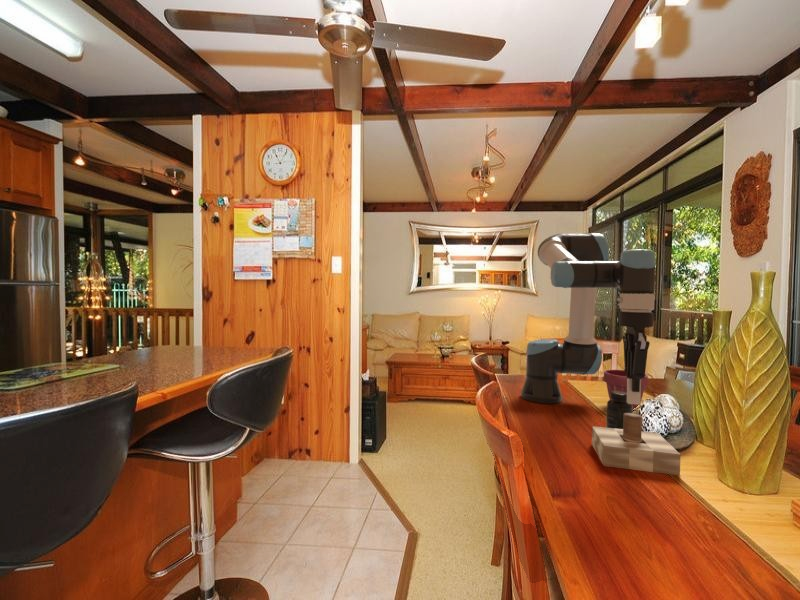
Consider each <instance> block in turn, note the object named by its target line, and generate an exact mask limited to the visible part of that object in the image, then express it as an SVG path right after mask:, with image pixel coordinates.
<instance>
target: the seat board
mask: <svg viewBox="0 0 800 600" xmlns="http://www.w3.org/2000/svg"><path fill="white" fill-rule="evenodd" d="M641 439H642V442H641V443H634V442H625V441H623V429H615V428H606V426H605V427H603V426H591V446H592V447H593V449H594V451H595V453H596V454H597V456H598V459H599V460H600V462H601V464H602V466H604V467H608V468H609V467H610V468H615V469H616V468H618V469H624V470H625V469H626V470H633V471H642V472H649V473H657V474H664V475H674V476H679V475H681V453H680V452H679V451H678V450H677V449H675V447H674V446H672V445H671V444H670V443H669V442H668V441H667V440H666V439H665V438H664V437H663V436H662V435H661V434H660V433H659V432H652V431H643V430H642V433H641Z"/></svg>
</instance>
